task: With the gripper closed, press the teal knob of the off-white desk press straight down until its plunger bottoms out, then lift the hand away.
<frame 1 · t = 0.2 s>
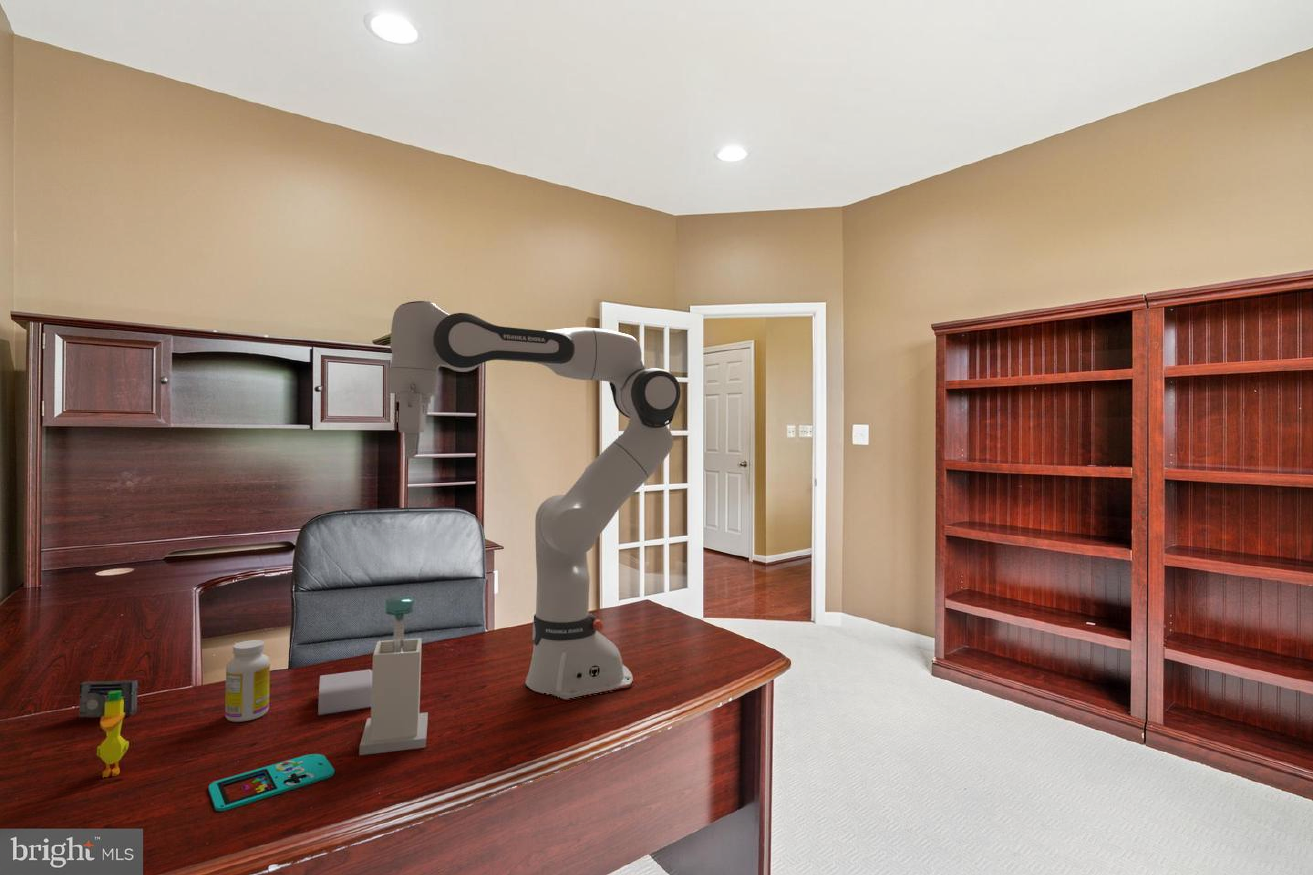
hand: (411, 456, 122), 47 cm above the table, tool pointing down, fingers open, 8 cm apart
plunger: (398, 634, 107), point 17 cm above the table, slide at 0.0 cm
press housing: (395, 736, 107), on the table
supplement bottle: (247, 715, 113), on the table
mini dv tape: (108, 716, 112), on the table
charger: (362, 701, 121), on the table
toy figure: (110, 775, 93), on the table
handheld gaming console: (273, 784, 93), on the table
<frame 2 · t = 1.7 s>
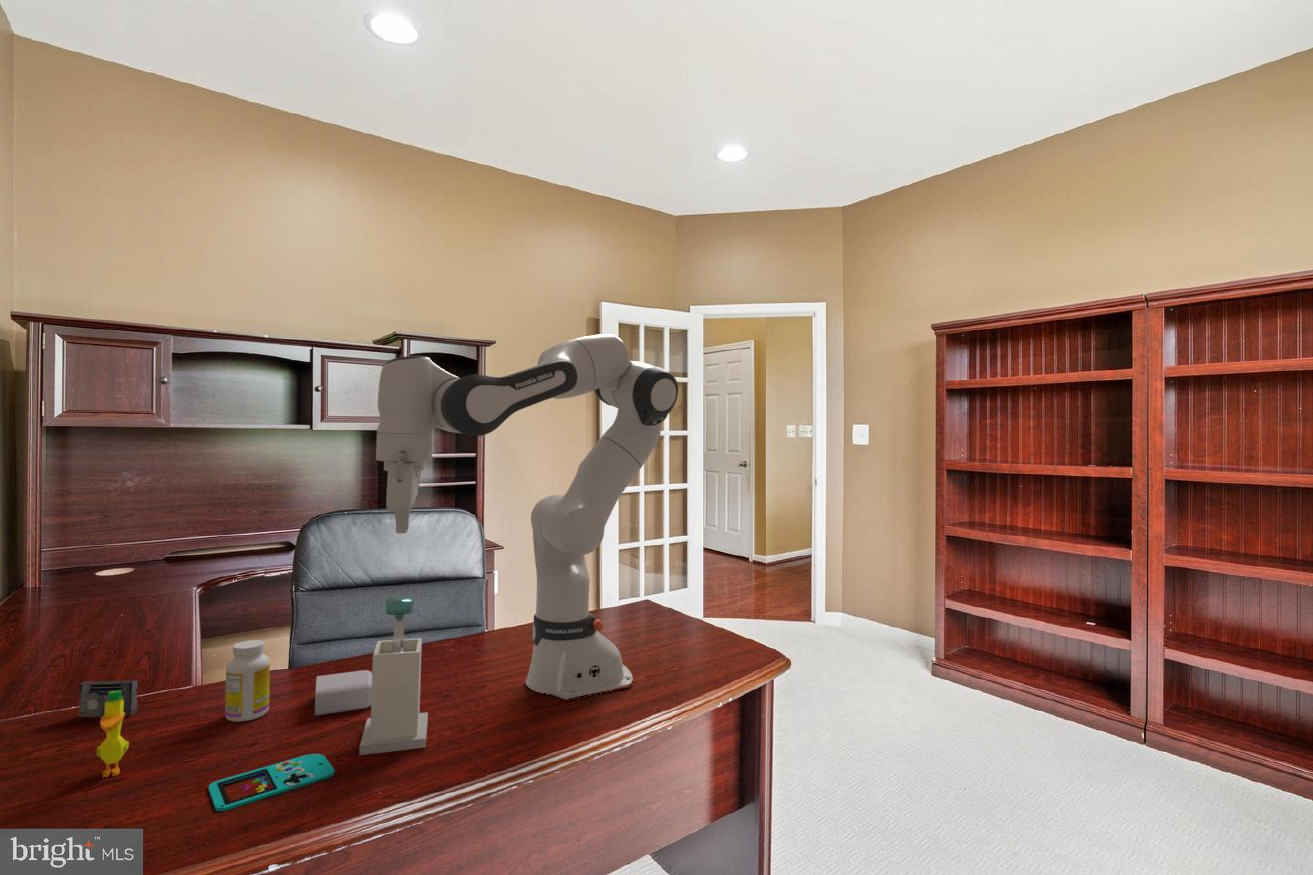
hand: (402, 531, 107), 35 cm above the table, tool pointing down, fingers closed
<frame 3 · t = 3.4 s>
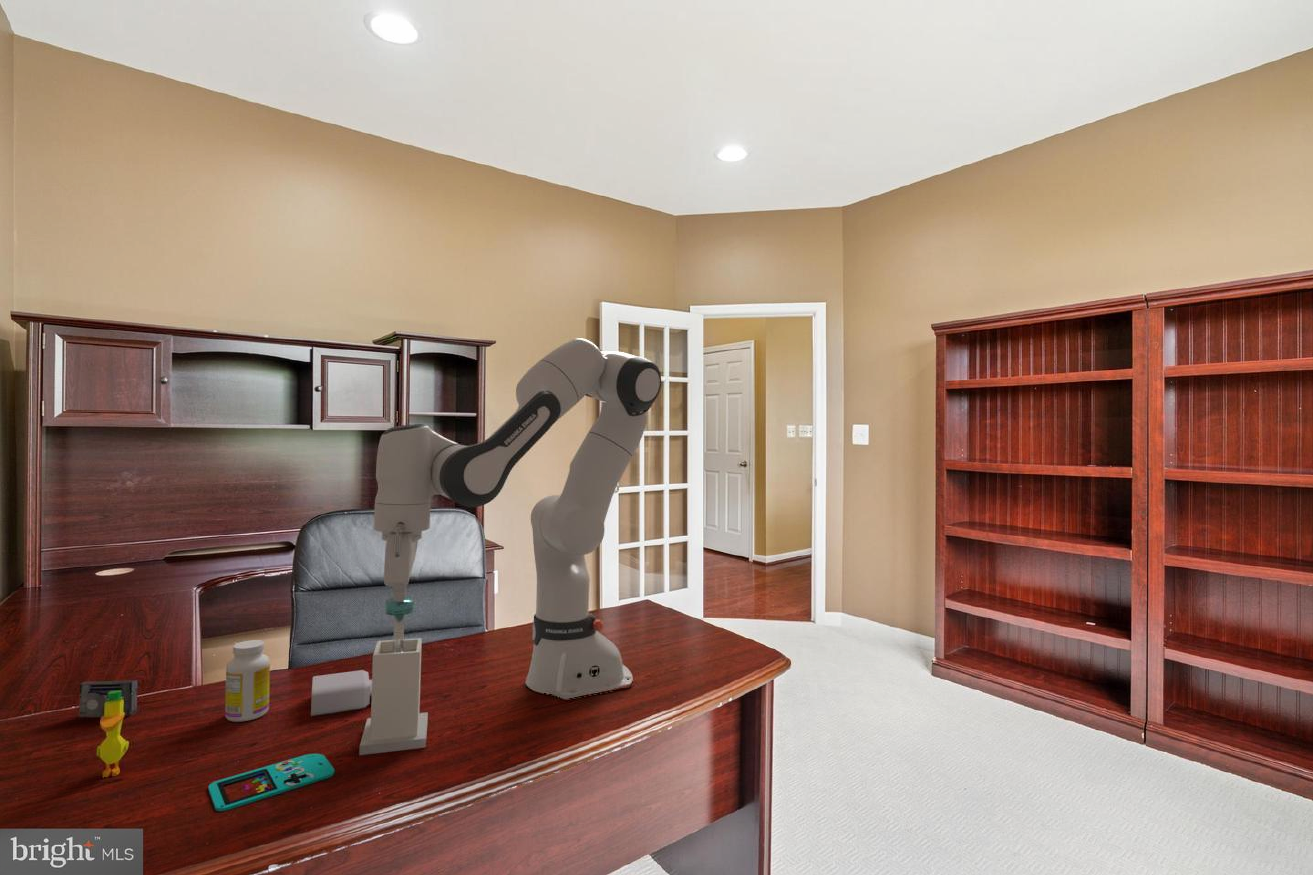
hand: (399, 599, 107), 23 cm above the table, tool pointing down, fingers closed, pressing on plunger
plunger: (398, 635, 107), point 17 cm above the table, slide at 0.1 cm, touching gripper
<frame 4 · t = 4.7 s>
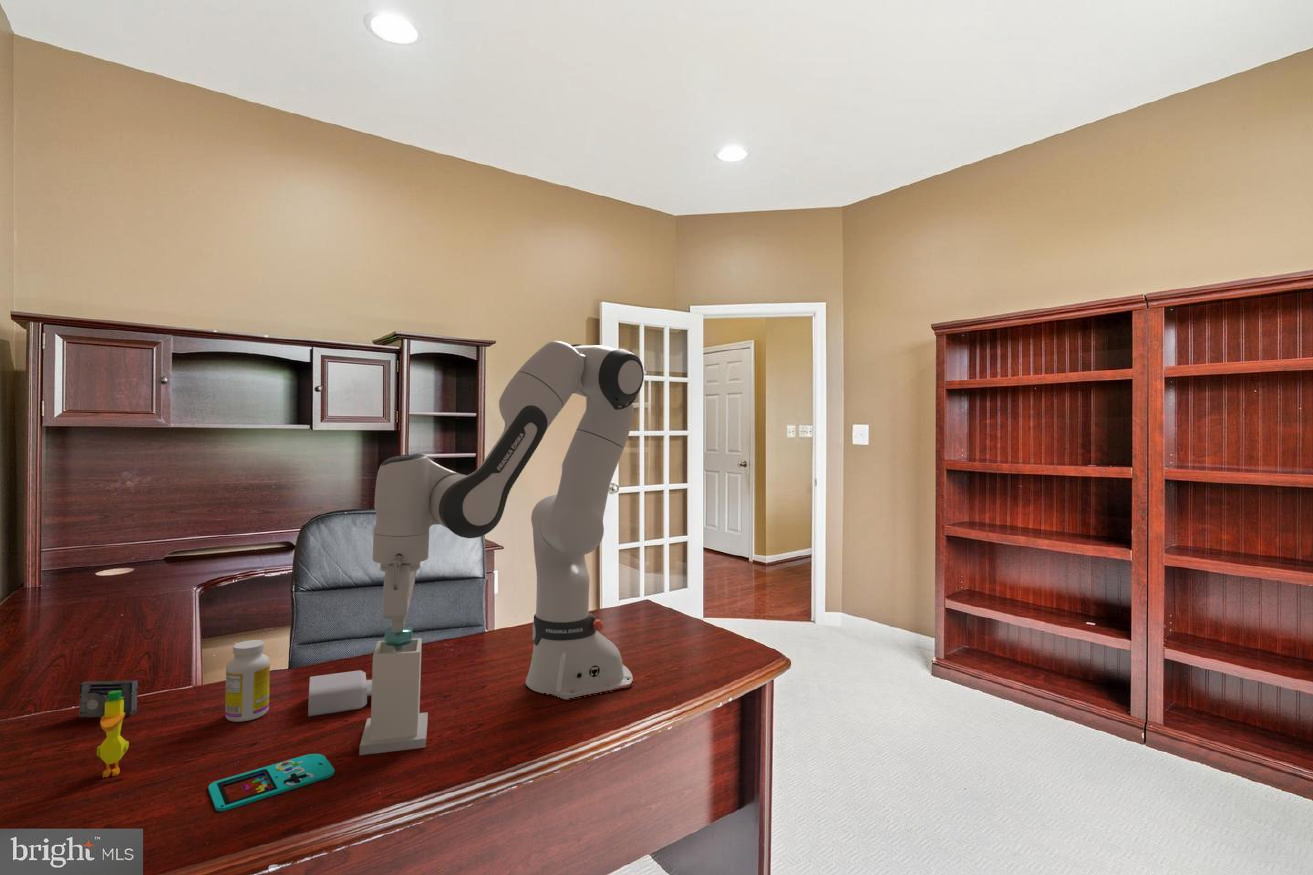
hand: (398, 630, 107), 18 cm above the table, tool pointing down, fingers closed, pressing on plunger
plunger: (397, 665, 107), point 12 cm above the table, slide at 5.2 cm, touching gripper
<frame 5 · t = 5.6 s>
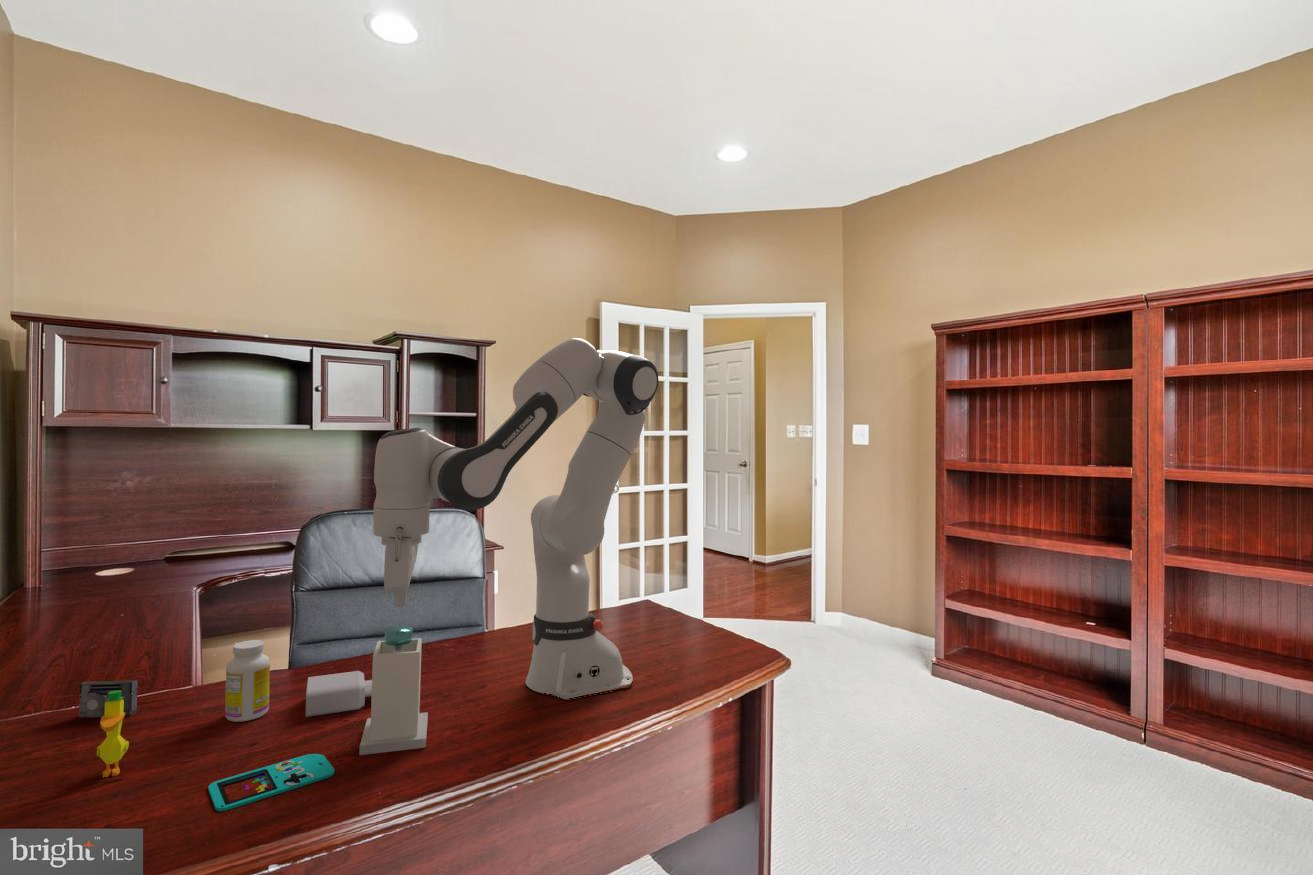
hand: (400, 604, 107), 23 cm above the table, tool pointing down, fingers closed
plunger: (397, 664, 107), point 12 cm above the table, slide at 5.1 cm
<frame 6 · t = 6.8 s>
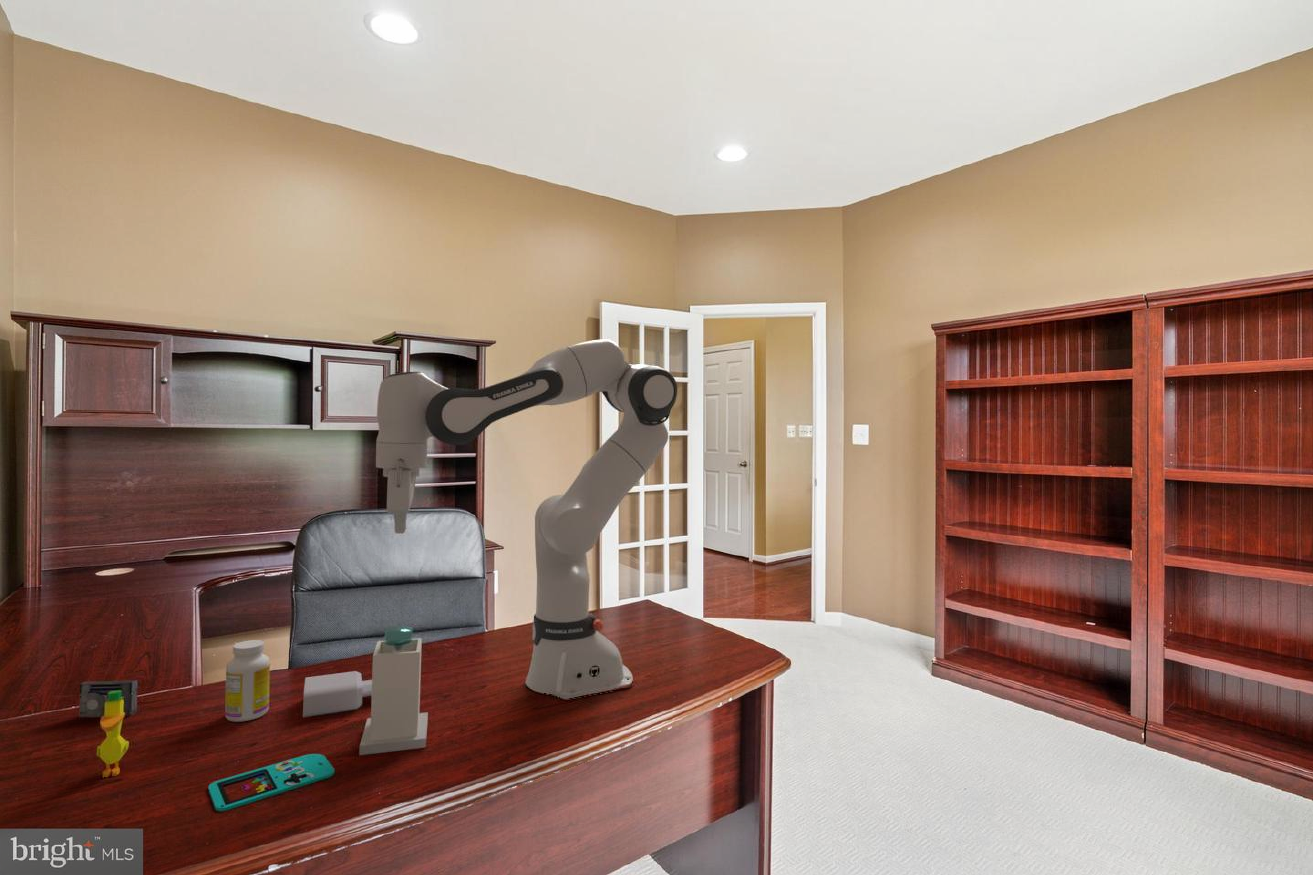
hand: (400, 532, 118), 33 cm above the table, tool pointing down, fingers closed
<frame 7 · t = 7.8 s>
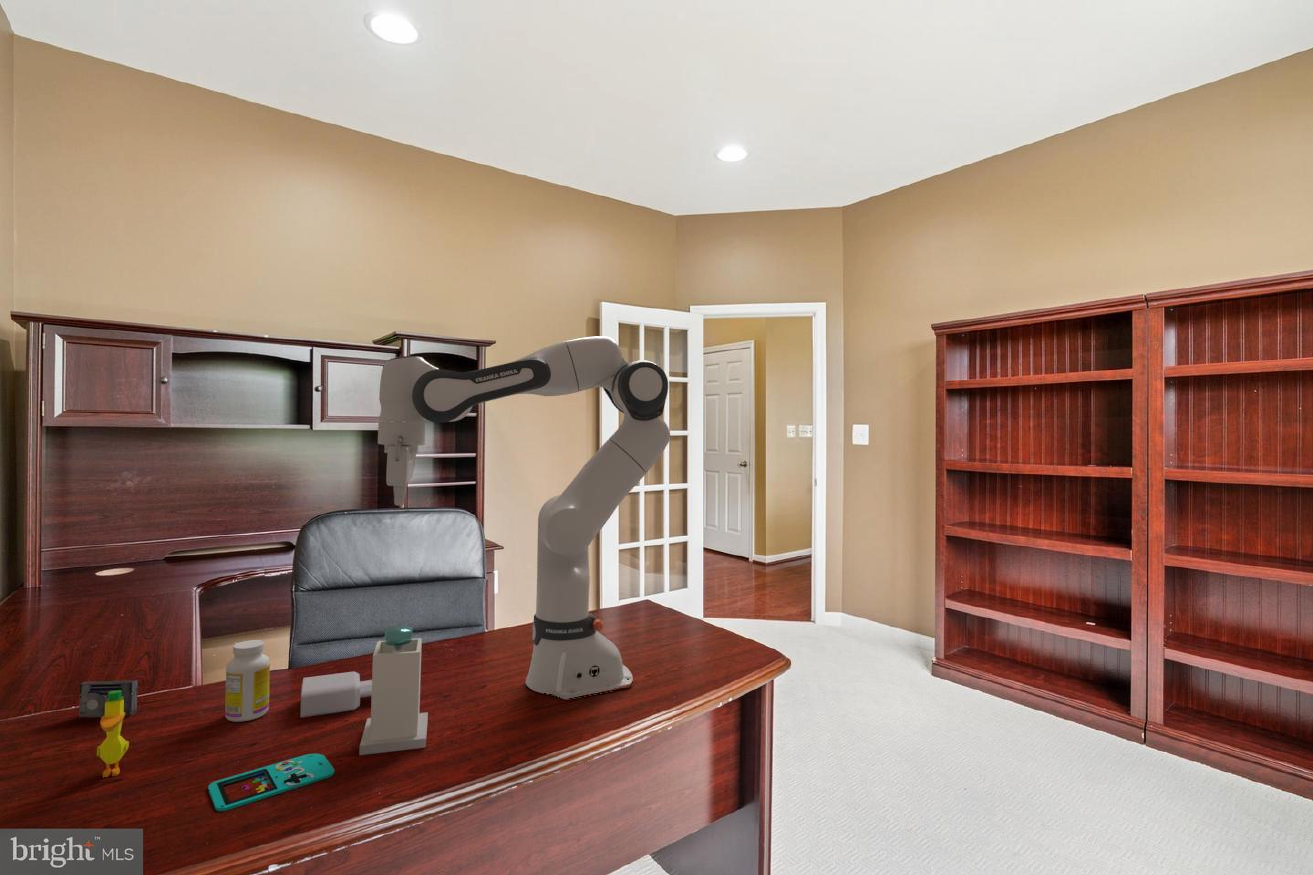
hand: (399, 504, 127), 37 cm above the table, tool pointing down, fingers closed
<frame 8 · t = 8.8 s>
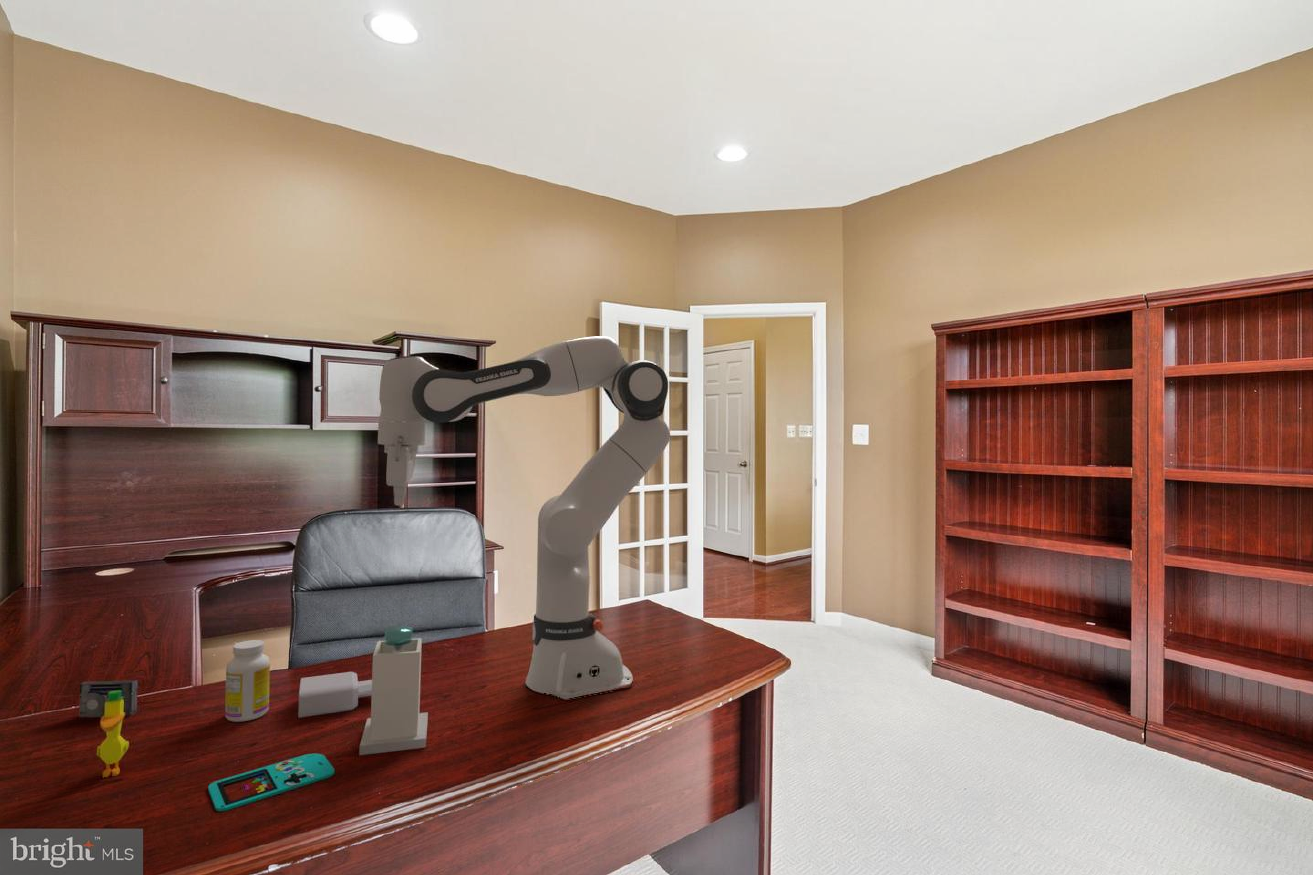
hand: (399, 504, 127), 37 cm above the table, tool pointing down, fingers closed
at the end: plunger slide at 5.1 cm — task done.
